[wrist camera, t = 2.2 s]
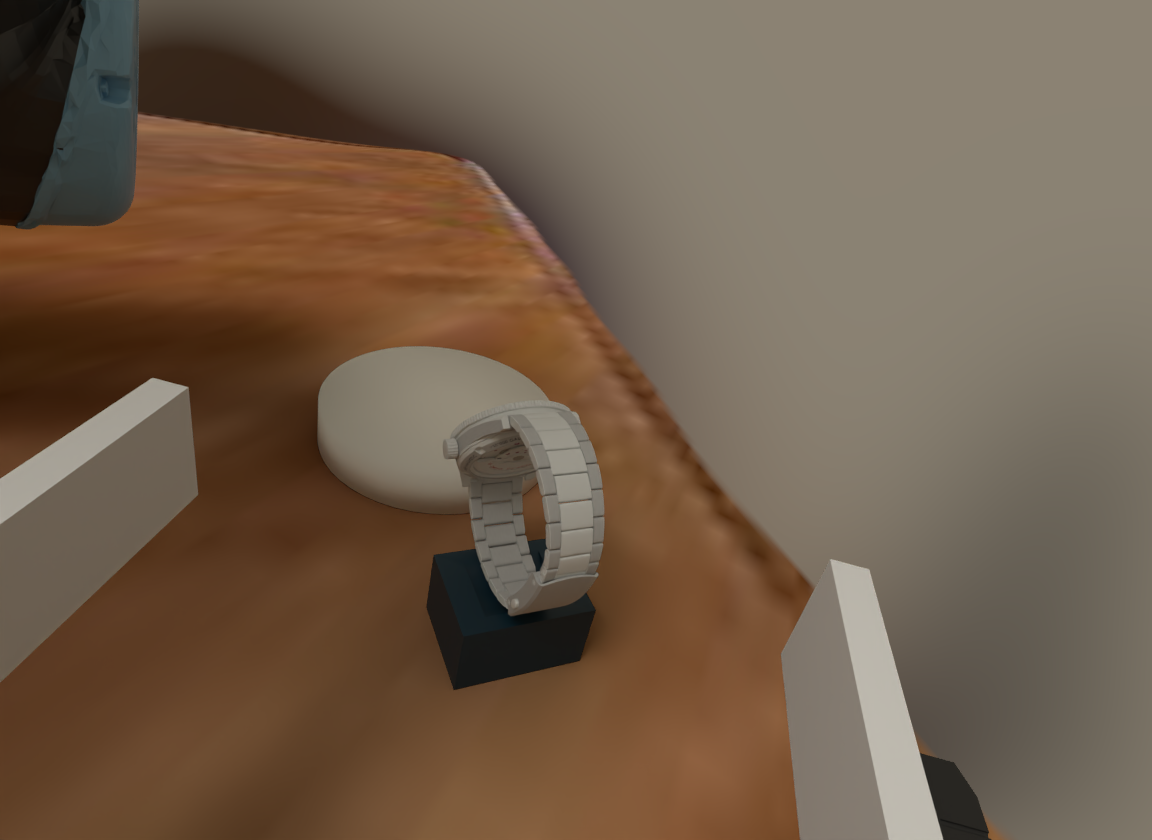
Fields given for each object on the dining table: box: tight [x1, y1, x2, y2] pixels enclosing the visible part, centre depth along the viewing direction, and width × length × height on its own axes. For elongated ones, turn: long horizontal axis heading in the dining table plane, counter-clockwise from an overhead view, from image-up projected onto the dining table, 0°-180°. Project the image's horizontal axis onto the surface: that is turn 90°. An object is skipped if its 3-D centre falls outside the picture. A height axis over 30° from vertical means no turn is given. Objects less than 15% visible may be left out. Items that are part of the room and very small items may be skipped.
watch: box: [427, 400, 604, 690], centre depth 28 cm, size 6×8×11 cm
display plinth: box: [317, 346, 549, 514], centre depth 41 cm, size 13×13×2 cm
